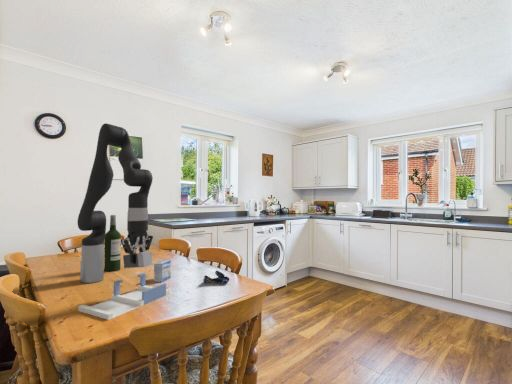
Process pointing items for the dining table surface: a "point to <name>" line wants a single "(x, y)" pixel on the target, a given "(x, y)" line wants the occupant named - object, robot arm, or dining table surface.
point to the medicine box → (162, 271)
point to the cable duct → (125, 300)
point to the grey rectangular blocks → (138, 260)
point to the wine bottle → (112, 247)
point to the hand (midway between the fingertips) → (137, 262)
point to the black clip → (219, 279)
